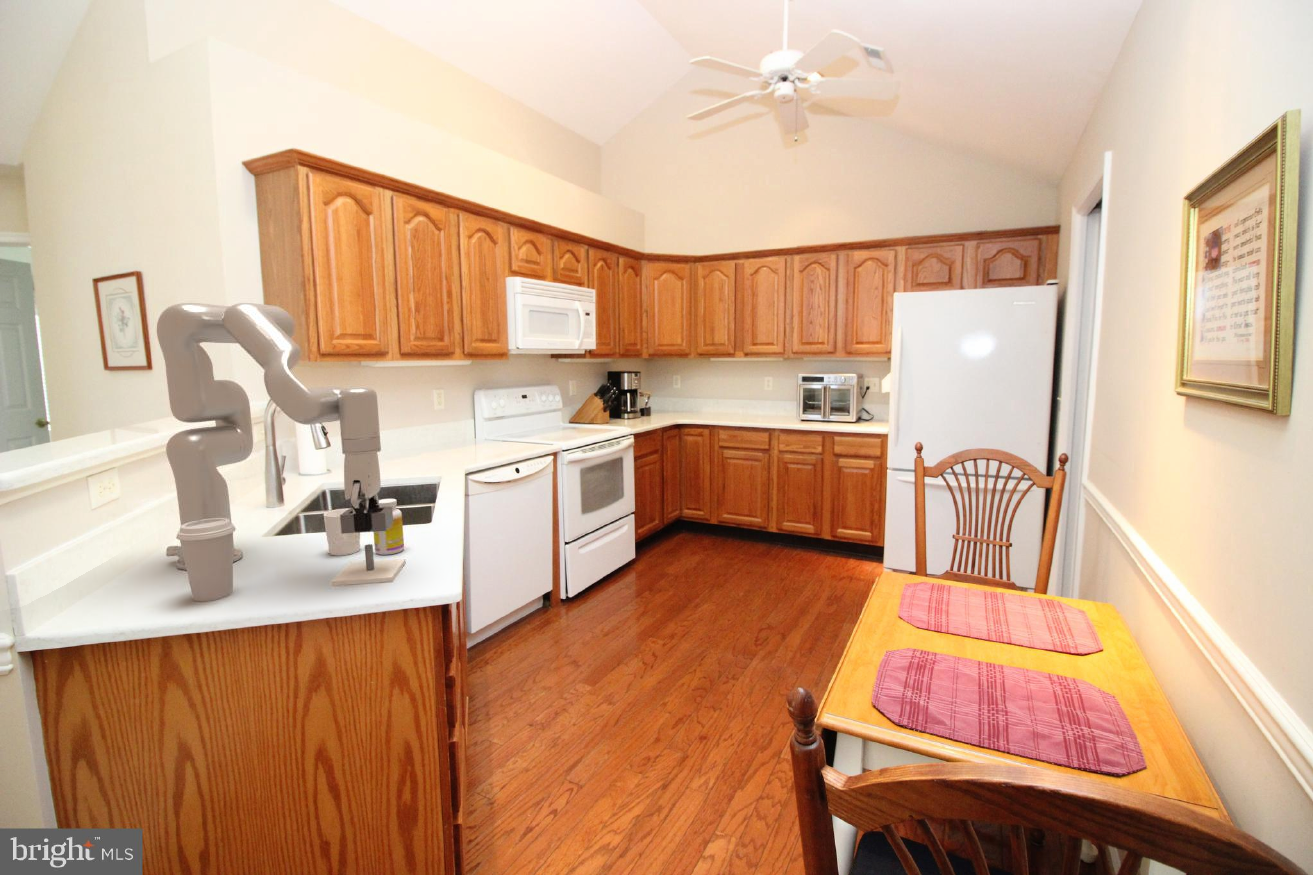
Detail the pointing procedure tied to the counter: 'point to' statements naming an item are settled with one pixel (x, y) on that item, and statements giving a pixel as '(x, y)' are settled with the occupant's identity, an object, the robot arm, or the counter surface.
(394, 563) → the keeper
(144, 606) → the counter surface
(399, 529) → the supplement bottle
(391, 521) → the link
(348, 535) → the white cup
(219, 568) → the coffee cup
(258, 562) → the counter surface
